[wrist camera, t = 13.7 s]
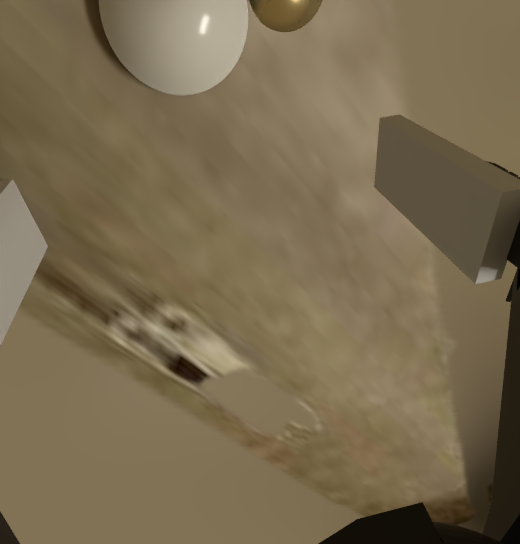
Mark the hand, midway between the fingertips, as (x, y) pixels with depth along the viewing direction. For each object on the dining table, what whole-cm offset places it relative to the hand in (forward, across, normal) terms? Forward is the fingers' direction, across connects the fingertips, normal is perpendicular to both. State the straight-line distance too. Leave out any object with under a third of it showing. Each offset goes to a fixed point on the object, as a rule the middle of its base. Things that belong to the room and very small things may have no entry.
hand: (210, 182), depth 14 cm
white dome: (+30, 0, +4) cm, 30 cm away
